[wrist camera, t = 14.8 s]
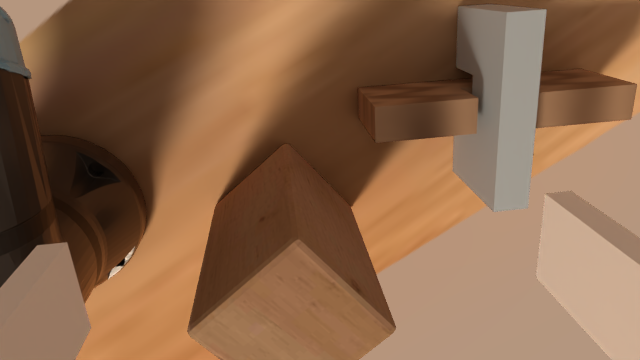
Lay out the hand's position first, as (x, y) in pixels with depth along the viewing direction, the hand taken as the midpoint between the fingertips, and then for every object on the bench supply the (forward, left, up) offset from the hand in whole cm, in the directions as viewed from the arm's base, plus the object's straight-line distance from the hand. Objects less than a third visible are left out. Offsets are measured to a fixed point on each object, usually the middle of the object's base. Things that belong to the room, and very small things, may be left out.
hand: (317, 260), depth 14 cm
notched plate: (+18, -4, -35) cm, 39 cm away
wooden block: (-1, -14, -35) cm, 38 cm away
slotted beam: (+18, -4, -35) cm, 39 cm away
